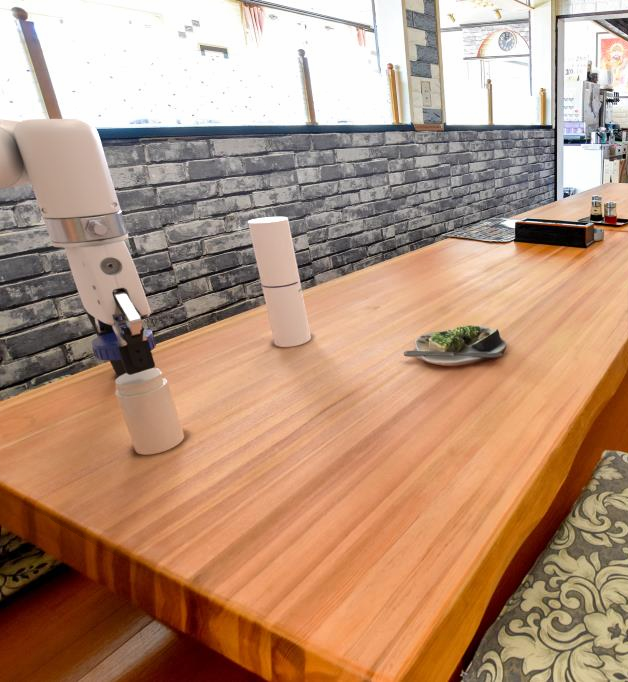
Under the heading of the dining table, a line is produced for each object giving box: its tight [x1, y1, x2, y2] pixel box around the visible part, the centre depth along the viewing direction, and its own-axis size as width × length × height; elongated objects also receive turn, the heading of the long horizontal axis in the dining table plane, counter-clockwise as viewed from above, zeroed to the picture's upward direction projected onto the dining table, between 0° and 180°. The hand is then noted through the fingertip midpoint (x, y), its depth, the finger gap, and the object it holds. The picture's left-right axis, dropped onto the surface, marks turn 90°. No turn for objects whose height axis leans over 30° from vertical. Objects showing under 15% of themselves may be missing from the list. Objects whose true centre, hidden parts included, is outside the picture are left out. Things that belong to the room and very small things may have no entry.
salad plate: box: [403, 324, 507, 368], centre depth 101 cm, size 19×18×5 cm
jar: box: [114, 367, 185, 456], centre depth 74 cm, size 6×6×11 cm
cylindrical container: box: [247, 216, 312, 348], centre depth 106 cm, size 7×7×25 cm
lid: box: [91, 328, 157, 361], centre depth 70 cm, size 7×7×2 cm
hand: (130, 362), depth 71 cm, fingers closed on lid, 6 cm apart
